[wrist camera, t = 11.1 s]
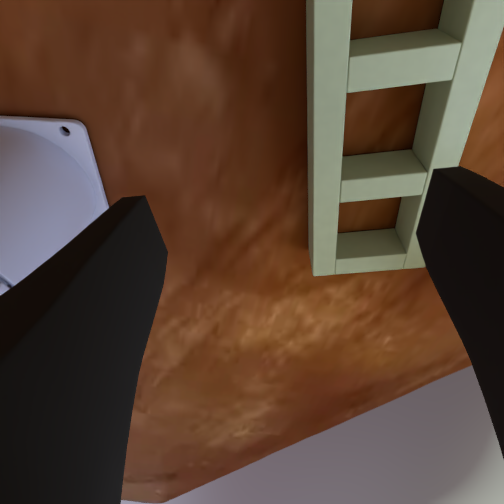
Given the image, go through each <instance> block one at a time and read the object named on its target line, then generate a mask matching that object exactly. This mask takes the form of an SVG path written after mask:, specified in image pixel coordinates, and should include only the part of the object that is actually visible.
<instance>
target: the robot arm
mask: <svg viewBox="0 0 504 504" xmlns="http://www.w3.org/2000/svg"><path fill="white" fill-rule="evenodd" d="M62 126H64V127H66V128H68V129H69V131H70V133H67V132H65V131H64V130H63V128H62ZM416 236H417V240H418V243H419V247H420V250H421V253H422V256H423V259H424V262H425V265H426V268H427V270H428V272H429V274H430V277H431V279H432V281H433V283H434V285H435V287H436V289H437V291H438V293H439V295H440V297H441V299H442V301H443V303H444V305H445V307H446V309H447V311H448V313H449V315H450V317H451V320H452V322H453V324H454V326H455V328H456V330H457V332H458V334H459V336H460V338H461V340H462V342H463V344H464V346H465V349H466V351H467V353H468V355H469V358H470V360H471V363H472V365H473V368H474V371H475V374H476V377H477V379H478V382H479V385H480V387H481V390H482V393H483V396H484V399H485V402H486V404H487V408H488V411H489V414H490V417H491V420H492V423H493V426H494V429H495V432H496V435H497V438H498V441H499V445H500V448H501V451H502V455H503V458H504V187H502V186H500V185H498V184H496V183H494V182H492V181H490V180H488V179H487V178H485V177H483V176H481V175H479V174H477V173H475V172H472V171H470V170H468V169H466V168H463V167H461V166H458V167H447V168H436V169H433V172H432V176H431V179H430V183H429V186H428V190H427V194H426V197H425V201H424V205H423V208H422V212H421V216H420V219H419V223H418V226H417V230H416ZM167 255H168V251H167V249H166V246H165V244H164V241H163V239H162V236H161V234H160V231H159V229H158V226H157V224H156V221H155V219H154V216H153V214H152V212H151V209H150V207H149V204H148V202H147V199H146V197H145V196H134V197H123V198H121V199H120V200H119V201H117V202H116V203H115V204H113V205H112V206H111V207H110V208H109V206H108V202H107V199H106V195H105V192H104V188H103V185H102V181H101V178H100V174H99V171H98V167H97V164H96V160H95V157H94V153H93V150H92V147H91V143H90V140H89V136H88V133H87V129H86V127H85V126H84V124H83V123H82V122H80V121H78V120H74V119H55V118H36V117H17V116H0V504H120V502H121V492H122V484H123V475H124V467H125V459H126V450H127V443H128V437H129V430H130V423H131V416H132V410H133V404H134V398H135V393H136V387H137V381H138V375H139V371H140V367H141V363H142V358H143V355H144V351H145V348H146V344H147V341H148V337H149V334H150V330H151V327H152V323H153V320H154V317H155V313H156V310H157V306H158V303H159V299H160V295H161V292H162V288H163V284H164V278H165V271H166V263H167Z"/></svg>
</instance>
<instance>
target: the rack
mask: <svg viewBox="0 0 504 504" xmlns="http://www.w3.org/2000/svg"><path fill="white" fill-rule="evenodd" d="M351 15H352V0H306V44H307V139H308V233H309V255H310V261H311V267H312V273H313V276H322V275H334V274H347V273H359V272H372V271H384V270H397V269H409V268H422V267H425V266H426V265H425V262H424V259H423V256H422V253H421V250H420V247H419V243H418V240H417V236H416V230H417V226H418V223H419V219H420V216H421V212H422V208H423V205H424V201H425V197H426V194H427V190H428V186H429V183H430V179H431V176H432V172H433V169H436V168H447V167H458V165H459V161H460V158H461V155H462V152H463V149H464V146H465V143H466V140H467V137H468V134H469V131H470V128H471V125H472V122H473V119H474V116H475V112H476V109H477V106H478V103H479V100H480V97H481V94H482V91H483V88H484V85H485V82H486V79H487V76H488V73H489V70H490V66H491V63H492V60H493V57H494V54H495V51H496V48H497V45H498V42H499V39H500V36H501V33H502V30H503V27H504V0H444V3H443V8H442V12H441V17H440V22H439V26H438V29H429V30H422V31H415V32H407V33H400V34H393V35H385V36H378V37H370V38H363V39H356V40H350V30H351ZM423 83H426V87H425V91H424V96H423V101H422V105H421V110H420V115H419V119H418V124H417V129H416V133H415V138H414V143H413V147H412V150H410V149H409V150H400V151H390V152H381V153H372V154H363V155H353V156H344V157H342V152H343V137H344V122H345V107H346V92H347V93H350V92H359V91H367V90H375V89H383V88H391V87H399V86H407V85H415V84H423ZM394 197H402V198H401V203H400V208H399V212H398V217H397V222H396V226H395V229H394V228H392V229H381V230H370V231H359V232H348V233H337V229H338V214H339V202H341V203H342V202H352V201H363V200H373V199H383V198H394Z"/></svg>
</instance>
